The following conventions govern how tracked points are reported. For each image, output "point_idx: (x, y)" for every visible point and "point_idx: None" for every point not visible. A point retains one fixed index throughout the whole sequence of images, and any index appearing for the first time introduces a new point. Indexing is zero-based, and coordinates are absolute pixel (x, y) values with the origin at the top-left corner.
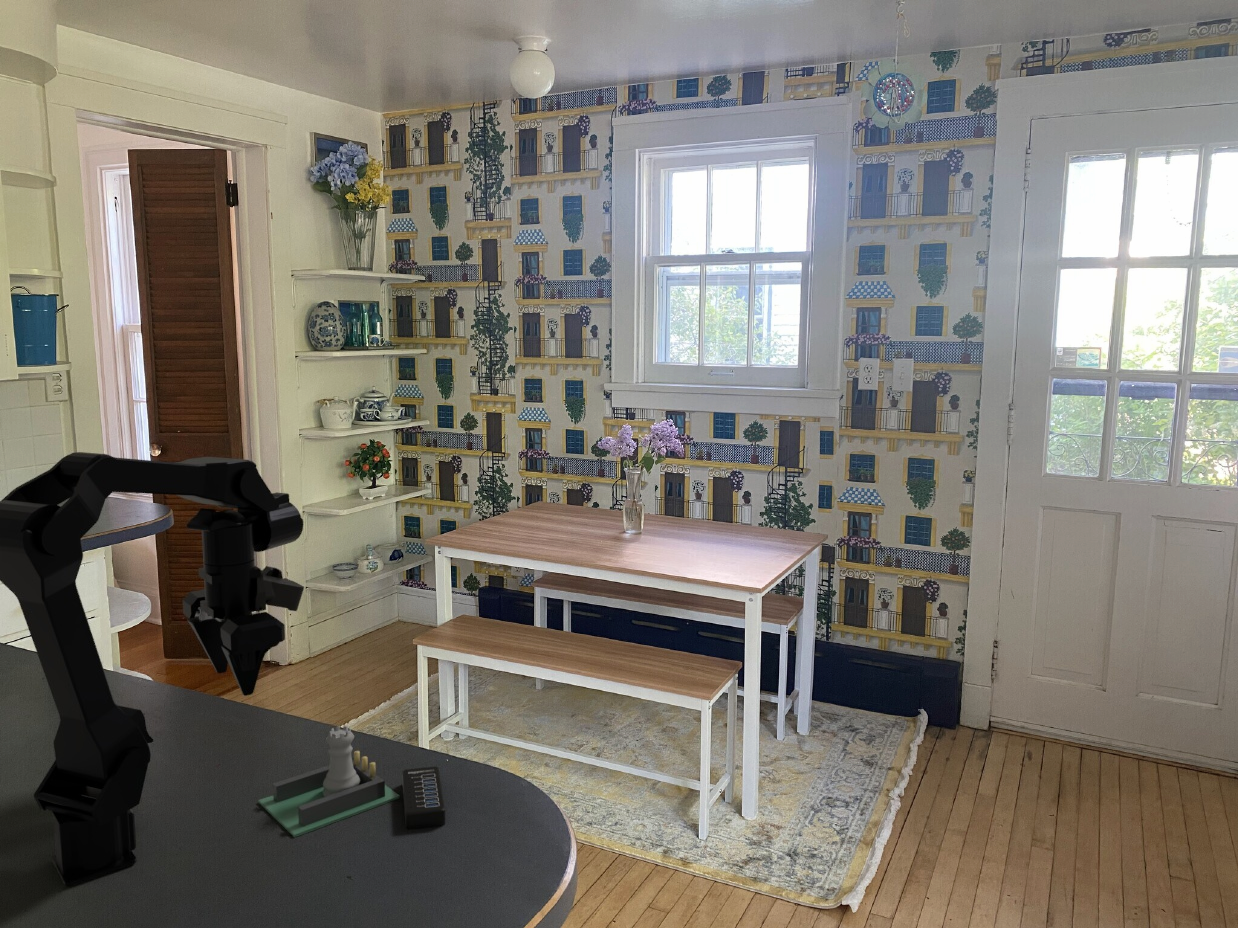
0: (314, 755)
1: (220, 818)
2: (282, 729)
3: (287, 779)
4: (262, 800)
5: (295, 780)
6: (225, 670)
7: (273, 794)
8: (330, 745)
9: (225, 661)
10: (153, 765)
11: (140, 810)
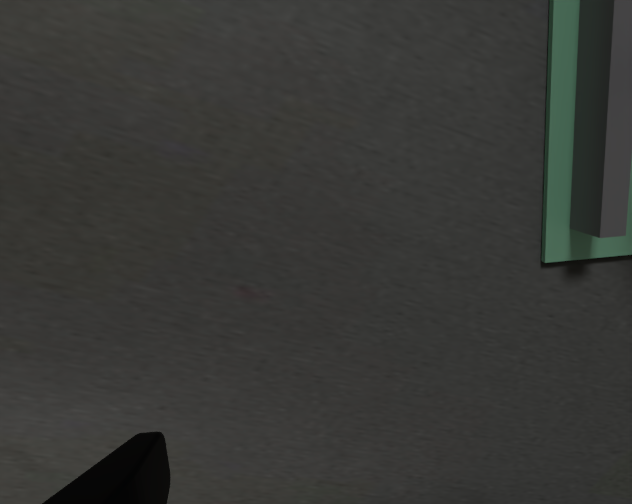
0: (360, 15)
1: (551, 357)
2: (77, 35)
3: (608, 193)
4: (554, 254)
5: (628, 173)
6: (159, 442)
7: (578, 230)
8: None
9: (141, 493)
10: None
11: (387, 493)
